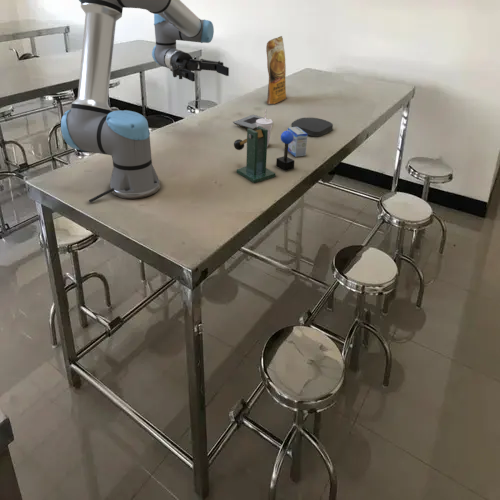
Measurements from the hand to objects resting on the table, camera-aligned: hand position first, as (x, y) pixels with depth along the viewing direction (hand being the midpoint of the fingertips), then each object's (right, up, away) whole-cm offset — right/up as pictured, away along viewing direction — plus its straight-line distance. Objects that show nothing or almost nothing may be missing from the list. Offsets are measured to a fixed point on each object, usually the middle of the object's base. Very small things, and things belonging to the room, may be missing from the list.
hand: (211, 74), depth 163 cm
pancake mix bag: (+25, +13, +72) cm, 77 cm away
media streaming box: (+39, -9, +39) cm, 56 cm away
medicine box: (+30, -23, +18) cm, 42 cm away
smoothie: (+18, -19, +23) cm, 35 cm away
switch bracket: (+15, -33, +1) cm, 37 cm away
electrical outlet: (+14, -7, +41) cm, 44 cm away
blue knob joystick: (+25, -30, +6) cm, 40 cm away
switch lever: (+13, -24, -1) cm, 27 cm away
